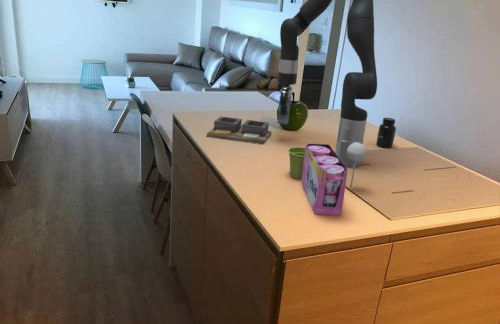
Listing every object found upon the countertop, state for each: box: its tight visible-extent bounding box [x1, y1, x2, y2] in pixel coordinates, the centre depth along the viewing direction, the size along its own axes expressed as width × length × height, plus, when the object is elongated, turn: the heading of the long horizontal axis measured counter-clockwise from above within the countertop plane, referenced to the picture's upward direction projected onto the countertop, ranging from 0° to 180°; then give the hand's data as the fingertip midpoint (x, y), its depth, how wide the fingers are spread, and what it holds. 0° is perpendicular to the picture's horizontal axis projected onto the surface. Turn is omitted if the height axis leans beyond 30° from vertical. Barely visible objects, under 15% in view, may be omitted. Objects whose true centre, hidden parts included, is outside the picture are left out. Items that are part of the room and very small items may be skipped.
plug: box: [277, 95, 292, 125], centre depth 182 cm, size 4×4×11 cm
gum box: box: [301, 142, 349, 216], centre depth 130 cm, size 24×8×14 cm, turn 3°
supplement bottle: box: [375, 117, 397, 149], centre depth 188 cm, size 7×7×12 cm
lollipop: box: [347, 143, 367, 189], centre depth 140 cm, size 6×6×15 cm
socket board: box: [206, 116, 272, 145], centre depth 188 cm, size 16×24×6 cm, turn 77°
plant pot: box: [287, 146, 305, 180], centre depth 148 cm, size 9×9×9 cm
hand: (283, 113), depth 182 cm, fingers closed on plug, 4 cm apart
